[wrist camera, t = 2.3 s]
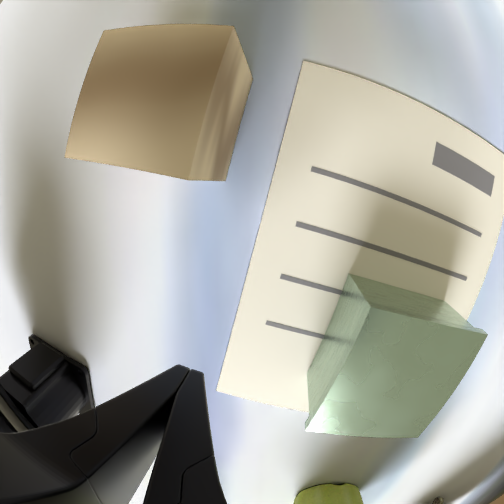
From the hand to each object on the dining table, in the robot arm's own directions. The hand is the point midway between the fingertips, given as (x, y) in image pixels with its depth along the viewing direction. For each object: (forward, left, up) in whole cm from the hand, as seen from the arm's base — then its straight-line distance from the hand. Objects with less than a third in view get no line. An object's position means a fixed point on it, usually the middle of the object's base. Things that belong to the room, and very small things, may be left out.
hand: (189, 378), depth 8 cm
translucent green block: (0, -8, -6) cm, 10 cm away
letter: (+3, -7, -6) cm, 10 cm away
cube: (+8, +4, -6) cm, 11 cm away
